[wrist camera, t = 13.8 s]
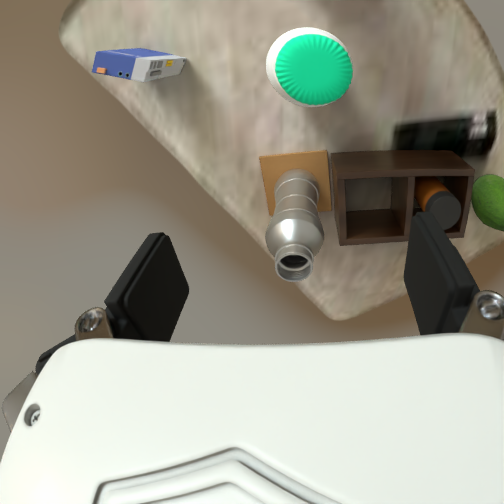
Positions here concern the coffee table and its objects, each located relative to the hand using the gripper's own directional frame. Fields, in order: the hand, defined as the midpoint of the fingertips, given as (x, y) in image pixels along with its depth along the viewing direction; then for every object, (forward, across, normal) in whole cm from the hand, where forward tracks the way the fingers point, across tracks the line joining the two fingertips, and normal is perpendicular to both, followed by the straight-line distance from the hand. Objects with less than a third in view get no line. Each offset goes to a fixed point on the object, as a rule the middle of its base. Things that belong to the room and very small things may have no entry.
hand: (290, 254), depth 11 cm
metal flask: (+34, +2, +12) cm, 36 cm away
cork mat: (+34, +2, +12) cm, 36 cm away
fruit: (+34, -31, +14) cm, 48 cm away
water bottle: (+34, -2, -6) cm, 35 cm away
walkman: (+34, +18, -11) cm, 40 cm away
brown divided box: (+34, -14, +13) cm, 39 cm away
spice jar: (+34, -19, +13) cm, 41 cm away
